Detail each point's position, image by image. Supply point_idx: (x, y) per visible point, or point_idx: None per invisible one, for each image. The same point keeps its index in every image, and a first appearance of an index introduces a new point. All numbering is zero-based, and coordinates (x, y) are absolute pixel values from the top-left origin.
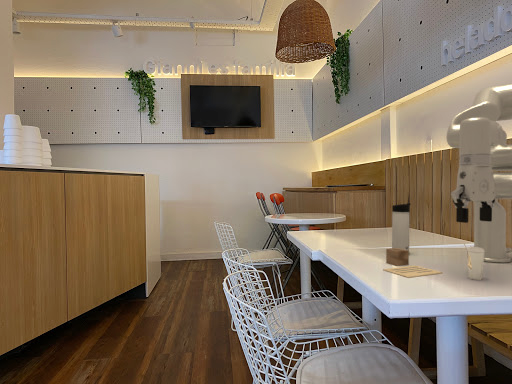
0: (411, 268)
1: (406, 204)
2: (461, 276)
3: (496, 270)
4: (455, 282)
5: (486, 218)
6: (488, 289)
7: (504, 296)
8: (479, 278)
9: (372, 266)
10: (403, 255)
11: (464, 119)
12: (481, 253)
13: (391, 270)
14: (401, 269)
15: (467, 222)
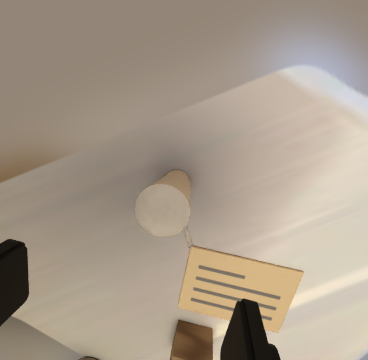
0: (216, 300)
1: None
2: None
3: (51, 186)
4: (252, 194)
5: (13, 273)
6: (255, 122)
7: (292, 71)
8: (182, 171)
9: None
10: (191, 348)
11: None
12: (173, 186)
13: (274, 317)
14: None
15: (244, 299)
